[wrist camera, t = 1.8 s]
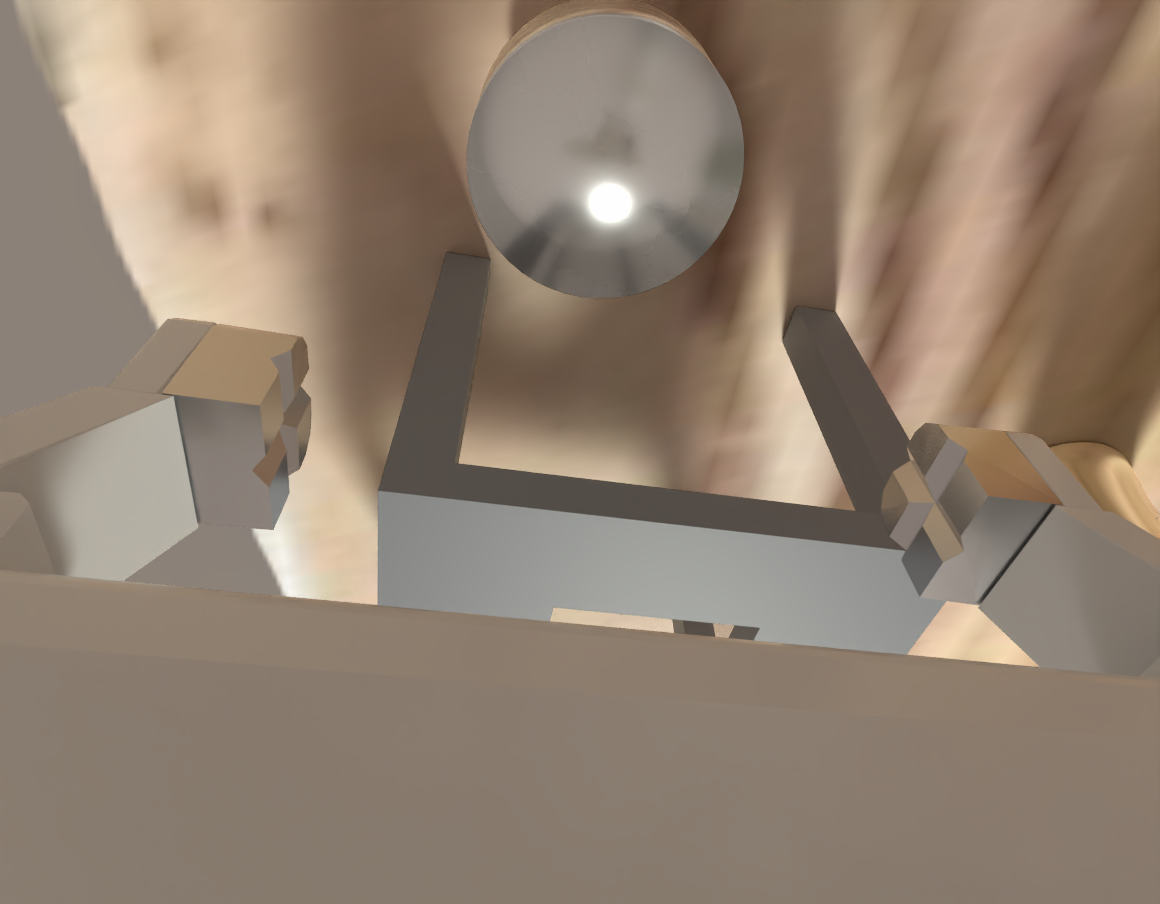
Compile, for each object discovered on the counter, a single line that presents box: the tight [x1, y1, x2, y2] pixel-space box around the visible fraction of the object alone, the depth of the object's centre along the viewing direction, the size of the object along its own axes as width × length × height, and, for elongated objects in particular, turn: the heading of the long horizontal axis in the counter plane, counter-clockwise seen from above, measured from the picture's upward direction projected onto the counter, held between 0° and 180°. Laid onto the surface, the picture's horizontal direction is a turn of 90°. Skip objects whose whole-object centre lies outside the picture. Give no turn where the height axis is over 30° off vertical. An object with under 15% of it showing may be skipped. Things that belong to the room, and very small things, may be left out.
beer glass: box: [1049, 442, 1160, 539], centre depth 27 cm, size 7×7×15 cm
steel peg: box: [467, 0, 744, 298], centre depth 19 cm, size 6×6×8 cm
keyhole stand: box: [378, 252, 946, 655], centre depth 27 cm, size 18×14×12 cm
